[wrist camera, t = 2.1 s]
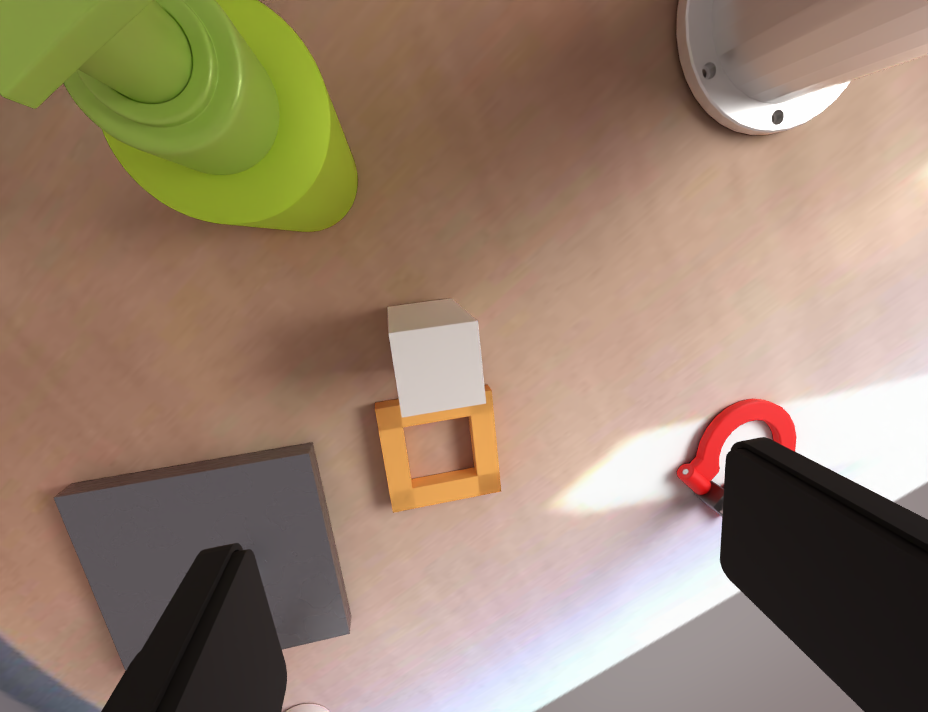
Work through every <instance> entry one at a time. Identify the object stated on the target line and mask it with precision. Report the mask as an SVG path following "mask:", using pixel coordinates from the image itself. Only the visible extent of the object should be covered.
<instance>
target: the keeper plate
mask: <svg viewBox="0 0 928 712" xmlns="http://www.w3.org/2000/svg"><path fill="white" fill-rule="evenodd" d="M54 500H55V502H56V505H57V507H58V509H59V512H60V514H61V517H62V519H63V521H64V524H65V526H66V529H67V531H68V533H69V536H70V538H71V541H72V543H73V545H74V548H75V550H76V553H77V555H78V557H79V560H80V562H81V565H82V567H83V569H84V572H85V574H86V577H87V579H88V581H89V584H90V586H91V589H92V591H93V593H94V596H95V598H96V601H97V603H98V605H99V608H100V610H101V613H102V615H103V617H104V620H105V622H106V625H107V627H108V630H109V632H110V634H111V637H112V639H113V642H114V644H115V646H116V649H117V651H118V654H119V656H120V658H121V661H122V663H123V666H124V668H125V670H127V668H128V666H129V665H130V663H131V662H132V660H133V659H134V658H135V656H136V655H137V654H138V652H140V651H141V649H142V648H143V646H144V644H145V643H146V641H147V639H148V638H149V636H150V634H151V633H152V631H153V629H154V628H155V626H156V624H157V622H158V621H159V619H160V617H161V616H162V614H163V612H164V611H165V609H166V607H167V606H168V604H169V602H170V600H171V599H172V597H173V595H174V594H175V592H176V590H177V589H178V587H179V585H180V584H181V582H182V580H183V578H184V577H185V575H186V573H187V572H188V570H189V568H190V567H191V565H192V563H193V562H194V560H195V558H196V556H197V555H198V554H199V552H200V551H202V550H204V549H208V548H213V547H218V546H223V545H228V544H233V543H239V544H240V545H241V546H242V548H243V550H247V549H251V550H252V551H253V553H254V555H255V558H256V562H257V565H258V569H259V572H260V576H261V579H262V583H263V586H264V590H265V593H266V597H267V600H268V604H269V607H270V611H271V614H272V618H273V621H274V625H275V628H276V632H277V635H278V639H279V642H280V646H281V649H286V648H290V647H295V646H299V645H303V644H308V643H312V642H316V641H321V640H325V639H329V638H334V637H338V636H342V635H346V634H350V625H351V613H350V608H349V604H348V599H347V595H346V590H345V586H344V581H343V577H342V572H341V568H340V563H339V559H338V554H337V550H336V545H335V541H334V536H333V532H332V527H331V523H330V518H329V514H328V509H327V505H326V500H325V496H324V491H323V487H322V482H321V478H320V473H319V469H318V464H317V460H316V455H315V451H314V446H313V442H312V443H306V444H301V445H295V446H289V447H283V448H277V449H271V450H266V451H260V452H254V453H248V454H242V455H236V456H230V457H225V458H219V459H213V460H207V461H201V462H195V463H189V464H184V465H178V466H172V467H166V468H160V469H154V470H149V471H143V472H137V473H131V474H125V475H119V476H113V477H108V478H102V479H96V480H90V481H84V482H78V483H72V484H71V485H69V486H68V487H67V488H65V489H64V490H63V491H62V492H60V493H59V494H58V495H56V496H55V497H54Z"/></svg>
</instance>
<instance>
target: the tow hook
mask: <svg viewBox="0 0 928 712" xmlns="http://www.w3.org/2000/svg"><path fill="white" fill-rule="evenodd" d="M754 420H761V421H764V422H765V423H766V424H767V425H768V426H769V428H770V430H771V431H772V436H773V441H775V442H777V443H779V444H781V445H783V446H785V447H787V448H789V449H791V450H793V451H795V447H796V432H795V426H794V423H793V421H792V419H791V417H790V415H789V414H788V413H787V412H786V411H785V410H784V409H783V408H782V407H780V406H778V405H776V404H774V403H772V402H769V401H766V400H762V399H748V400H743V401H739V402H737V403H735V404H733V405H731V406H729V407H727V408H726V409H724V410H723V411H722V412H721V413H719V414H718V415H717V416H716V417H715V418H714V419H713V421H712V422H711V423H710V424H709V426H708V427H707V428H706V430H705V432H704V434H703V436H702V438H701V440H700V442H699V446H698V450H697V454H696V457H695V458H694V459H693V460H692V461H691V463H690V464H683V465H681V466H680V467H679V468H678V470H677V476H678V478H679V479H680V480H682V481H683V482H684V483H685V484H686V485H687V486H688V487H689V488H690V489H692V490H693V492H694V494H695V495H696V496H698V497H699V498H700V499H701V500H702V501H703V502H704V503H705V504H706V505H708V506H709V507H710V508H711V509H713V510H714V511H715V512H717V513H718V514H719V515H721V516H723V499H724V489H723V488H722V487H720V486H719V485H717V484H716V483H714V482H713V481H711V480H712V479H713V478H714V477H715V476H716V474H717V473H718V472H719V469H720V467H719V455H720V452H721V448H722V446H723V444H724V442H725V440H726V439H727V437H728V436H729V435H730V434H731V433H732V431H734V430H735V429H736V428H737V427H739V426H740V425H742V424H744V423H746V422H749V421H754Z"/></svg>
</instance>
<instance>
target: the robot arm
mask: <svg viewBox="0 0 928 712" xmlns="http://www.w3.org/2000/svg"><path fill="white" fill-rule="evenodd" d="M677 43H678V51H679V59H680V62H681V65H682V69H683V72H684V75H685V79H686V81H687V83H688V85H689V87H690V89H691V91H692V93H693V95H694V97H695V98H696V100H697V101H698V102H699V104H700V105H701V106H702V107H703V109H704V110H705V111H706V112H707V113H708V114H709V115H710V116H711V117H712V118H714V119H715V120H716V121H717V122H719V123H720V124H721V125H723V126H725V127H727V128H729V129H732V130H734V131H736V132H740V133H745V134H749V135H769V134H773V133H777V132H781V131H785V130H789V129H792V128H794V127H797V126H799V125H802V124H805V123H806V122H808V121H810V120H811V119H813V118H814V117H816V116H818V115H819V114H821V113H822V112H823V111H824V110H825V109H826V108H828V107H829V106H830V105H831V104H832V103H833V102H834V101H835V100H836V99H837V98H838V97H839V95H840V94H841V93H842V92H843V90H844V89H845V88H846V87H847V86H848V84H849V83H850V81H852V80H855V79H858V78H861V77H864V76H867V75H870V74H873V73H876V72H879V71H882V70H885V69H888V68H891V67H894V66H897V65H900V64H902V63H905V62H908V61H911V60H914V59H917V58H920V57H923V56H926V55H928V0H679V3H678V9H677ZM720 563H721V566H722V569H723V571H724V573H725V574H726V576H727V577H728V578H729V580H730V581H731V582H732V583H733V584H734V585H735V586H736V587H738V588H739V589H740V590H741V591H742V592H743V593H744V594H745V595H746V596H747V597H748V598H749V599H750V600H751V601H752V602H753V603H754V604H755V605H756V606H757V607H758V608H759V609H760V610H761V611H762V612H763V613H764V614H765V615H766V616H767V617H768V618H769V619H770V620H771V621H772V622H773V623H774V624H775V625H776V626H777V627H778V628H779V629H780V630H782V631H783V632H784V633H785V634H786V635H787V636H788V637H789V638H790V639H791V640H792V641H793V642H794V643H795V644H796V645H797V646H798V647H799V648H800V649H801V650H802V651H803V652H804V653H805V654H806V655H807V656H808V657H809V658H810V659H811V660H812V661H813V662H814V663H815V664H816V665H817V666H818V667H819V668H820V669H821V670H822V671H823V672H824V673H825V674H826V675H827V676H829V677H830V678H831V679H832V680H833V681H834V682H835V683H836V684H837V685H838V686H839V687H840V688H841V689H842V690H843V691H844V692H845V693H846V694H847V695H848V696H849V697H850V698H851V699H852V700H853V701H854V702H855V703H856V704H857V705H858V706H859V707H860V708H861V709H862V710H863V711H864V712H928V520H927V519H925V518H923V517H921V516H920V515H918V514H916V513H914V512H912V511H910V510H908V509H906V508H904V507H902V506H900V505H898V504H896V503H894V502H892V501H890V500H888V499H886V498H884V497H882V496H880V495H879V494H877V493H875V492H873V491H871V490H869V489H867V488H865V487H863V486H861V485H859V484H857V483H855V482H853V481H851V480H849V479H847V478H845V477H843V476H841V475H839V474H837V473H836V472H834V471H832V470H830V469H828V468H826V467H824V466H822V465H820V464H818V463H816V462H814V461H812V460H810V459H808V458H806V457H804V456H802V455H800V454H798V453H796V452H795V451H793V450H791V449H789V448H787V447H785V446H783V445H781V444H779V443H777V442H775V441H773V440H771V439H768V438H765V437H762V438H756V439H751V440H746V441H741V442H737V443H735V444H734V445H733V446H732V448H731V451H730V452H728V454H727V456H726V465H725V482H724V499H723V516H722V533H721V550H720ZM286 684H287V670H286V664H285V660H284V656H283V653H282V649H281V646H280V642H279V639H278V635H277V632H276V628H275V625H274V621H273V618H272V614H271V611H270V607H269V604H268V600H267V597H266V593H265V590H264V586H263V583H262V579H261V576H260V572H259V569H258V565H257V562H256V558H255V555H254V553H253V551H252V550H251V549H247V550H243V548H242V546H241V545H240V544H239V543H233V544H228V545H223V546H218V547H213V548H208V549H204V550H202V551H200V552H199V554H198V555H197V556H196V558H195V560H194V562H193V563H192V565H191V567H190V568H189V570H188V572H187V573H186V575H185V577H184V578H183V580H182V582H181V584H180V585H179V587H178V589H177V590H176V592H175V594H174V595H173V597H172V599H171V600H170V602H169V604H168V606H167V607H166V609H165V611H164V612H163V614H162V616H161V617H160V619H159V621H158V622H157V624H156V626H155V628H154V629H153V631H152V633H151V634H150V636H149V638H148V639H147V641H146V643H145V644H144V646H143V648H142V649H141V651H140V652H138V654H137V655H136V656H135V658H134V659H133V660H132V662H131V663H130V665H129V666H128V668H127V670H126V671H125V673H124V675H123V676H122V678H121V680H120V681H119V683H118V685H117V686H116V688H115V690H114V691H113V693H112V695H111V696H110V698H109V700H108V701H107V703H106V705H105V706H104V708H103V710H102V711H101V712H281V709H282V705H283V700H284V696H285V691H286Z"/></svg>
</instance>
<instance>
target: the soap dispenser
mask: <svg viewBox="0 0 928 712" xmlns="http://www.w3.org/2000/svg"><path fill="white" fill-rule="evenodd" d="M63 83H64V85H65V87H66V89H67V91H68V92H69V94H70V95H71V97H72V98H73V100H74V101H75V103H76V104H77V105H78V106H79V108H80V109H81V110H82V111H83V112H84V113H85V114H86V115H87V116H88V117H89V118H90V119H91V120H92V121H93V122H94V123H95V124H96V125H98V126H99V127H100V128H101V129H102V131H103V134H104V136H105V138H106V140H107V142H108V144H109V146H110V148H111V150H112V151H113V153H114V155H115V156H116V158H117V159H118V161H119V162H120V163H121V165H122V166H123V167H124V169H125V170H126V171H127V172H128V173H129V175H130V176H131V177H132V178H133V179H134V180H135V181H136V182H137V183H138V184H139V185H140V186H141V187H142V188H143V189H145V190H146V191H147V192H148V193H149V194H151V195H152V196H153V197H155V198H156V199H157V200H159V201H160V202H162V203H164V204H165V205H167V206H169V207H170V208H172V209H174V210H176V211H178V212H180V213H182V214H185V215H187V216H190V217H193V218H196V219H199V220H202V221H207V222H211V223H218V224H227V225H237V226H248V227H258V228H269V229H279V230H290V231H300V232H315V231H320V230H324V229H327V228H329V227H331V226H333V225H335V224H336V223H338V222H339V221H340V220H341V219H342V218H343V217H344V216H345V215H346V214H347V213H348V211H349V210H350V208H351V206H352V204H353V202H354V200H355V197H356V193H357V186H358V176H357V169H356V165H355V162H354V159H353V156H352V154H351V151H350V148H349V146H348V143H347V141H346V138H345V135H344V133H343V130H342V128H341V125H340V122H339V120H338V117H337V115H336V112H335V109H334V107H333V104H332V102H331V99H330V97H329V94H328V91H327V89H326V86H325V84H324V81H323V78H322V76H321V73H320V71H319V69H318V67H317V65H316V63H315V61H314V59H313V57H312V55H311V54H310V52H309V50H308V49H307V47H306V46H305V44H304V43H303V42H302V40H301V39H300V38H299V36H298V35H297V34H296V33H295V32H294V30H293V29H292V28H291V27H290V26H289V25H288V24H287V23H286V22H285V21H284V20H283V19H282V18H281V17H280V16H278V15H277V14H276V13H275V12H274V11H272V10H271V9H270V8H268V7H267V6H265V5H264V4H263V3H261V2H259V1H258V0H0V95H1V96H3V97H4V98H7V99H9V100H12V101H15V102H17V103H20V104H23V105H25V106H28V107H31V108H34V109H36V108H37V107H38V106H40V105H41V104H42V103H43V102H44V101H45V100H46V99H47V98H48V97H49V96H50V95H51V94H52V93H53V92H54V91H55V90H56V89H58V88H59V87H60V86H61V85H62V84H63Z"/></svg>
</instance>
